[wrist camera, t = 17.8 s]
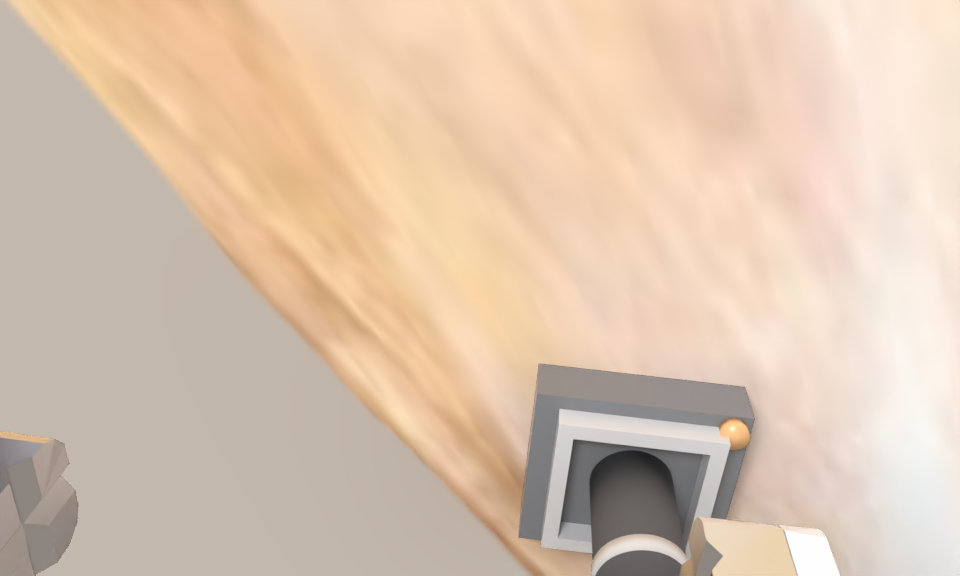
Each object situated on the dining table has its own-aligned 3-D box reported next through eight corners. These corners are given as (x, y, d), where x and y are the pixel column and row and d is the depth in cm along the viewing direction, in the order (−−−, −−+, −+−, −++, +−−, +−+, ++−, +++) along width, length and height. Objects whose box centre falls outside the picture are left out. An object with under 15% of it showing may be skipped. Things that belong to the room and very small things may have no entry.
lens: (680, 452, 47) (707, 594, 38) (668, 518, 50) (691, 667, 41) (591, 445, 48) (598, 584, 39) (584, 511, 50) (588, 657, 41)
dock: (744, 387, 48) (759, 434, 44) (706, 526, 54) (716, 579, 50) (538, 363, 49) (535, 408, 45) (521, 503, 54) (517, 554, 50)
